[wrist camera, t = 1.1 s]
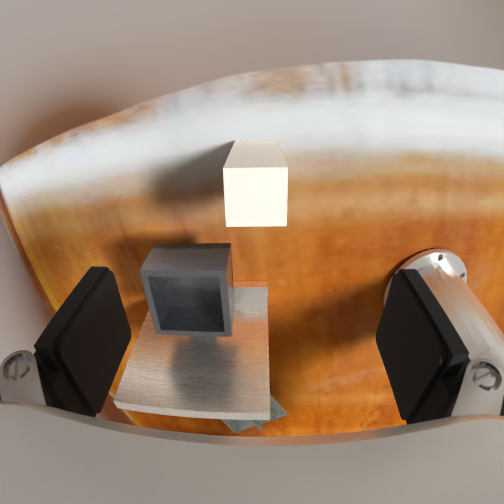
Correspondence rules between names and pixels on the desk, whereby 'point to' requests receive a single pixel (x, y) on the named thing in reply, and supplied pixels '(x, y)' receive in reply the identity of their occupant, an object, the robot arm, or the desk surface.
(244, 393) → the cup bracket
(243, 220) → the cream rectangular beam
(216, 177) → the desk surface
